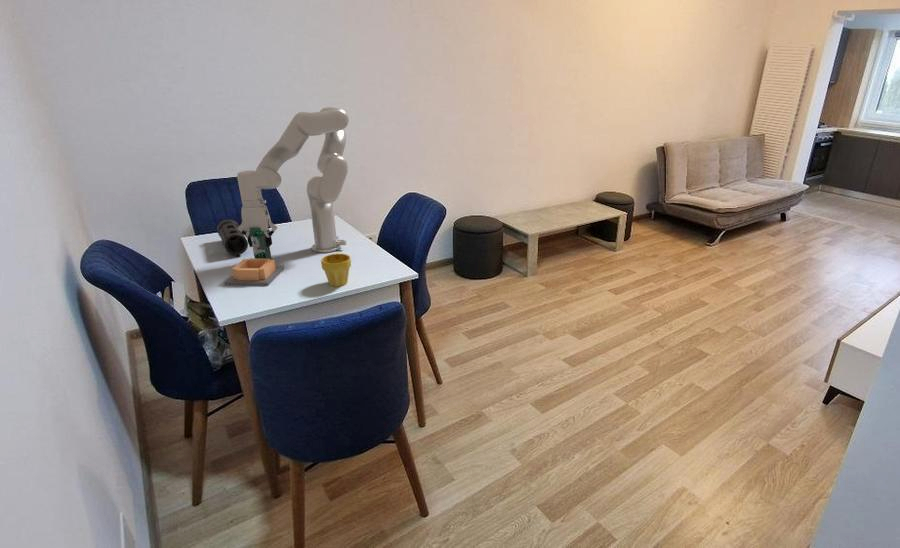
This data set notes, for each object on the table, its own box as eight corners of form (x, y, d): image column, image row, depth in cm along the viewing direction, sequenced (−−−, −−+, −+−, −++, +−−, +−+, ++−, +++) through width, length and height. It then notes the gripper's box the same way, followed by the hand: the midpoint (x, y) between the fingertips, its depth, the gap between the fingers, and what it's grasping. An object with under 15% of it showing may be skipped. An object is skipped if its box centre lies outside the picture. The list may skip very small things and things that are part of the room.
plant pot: (338, 291, 162) (335, 265, 158) (317, 284, 167) (314, 259, 163) (358, 281, 170) (356, 256, 166) (338, 275, 175) (335, 251, 171)
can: (252, 261, 188) (245, 226, 182) (265, 257, 193) (259, 223, 187) (261, 264, 185) (254, 229, 179) (274, 260, 190) (268, 225, 184)
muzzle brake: (226, 259, 192) (221, 235, 188) (219, 241, 214) (214, 219, 210) (250, 255, 196) (246, 232, 192) (240, 237, 218) (237, 216, 214)
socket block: (284, 269, 181) (282, 256, 179) (268, 285, 166) (265, 272, 164) (244, 268, 182) (242, 256, 180) (224, 285, 167) (222, 272, 165)
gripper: (278, 200, 183) (285, 242, 190) (235, 200, 183) (244, 243, 190) (270, 205, 176) (278, 249, 183) (226, 205, 176) (235, 249, 183)
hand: (260, 245), depth 186 cm, fingers closed on can, 6 cm apart
